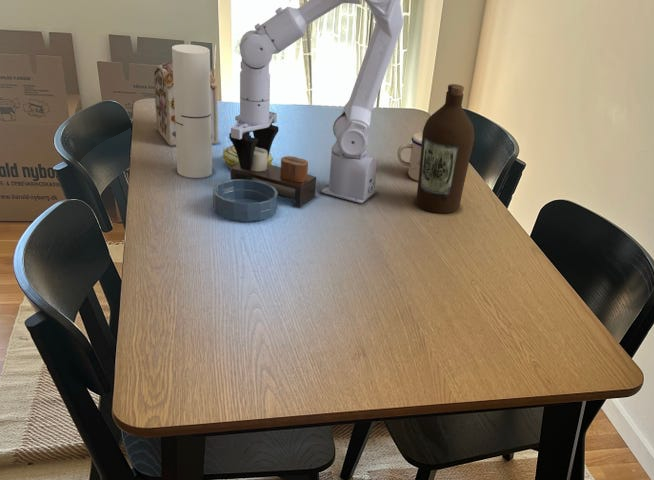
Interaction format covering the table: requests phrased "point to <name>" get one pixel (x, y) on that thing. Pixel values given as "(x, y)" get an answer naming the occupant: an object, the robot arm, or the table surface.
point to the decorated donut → (232, 158)
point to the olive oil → (445, 155)
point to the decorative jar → (167, 108)
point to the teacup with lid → (413, 155)
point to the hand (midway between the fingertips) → (254, 164)
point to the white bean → (259, 159)
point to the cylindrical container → (192, 110)
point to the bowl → (245, 200)
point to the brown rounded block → (294, 169)
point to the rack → (280, 183)
